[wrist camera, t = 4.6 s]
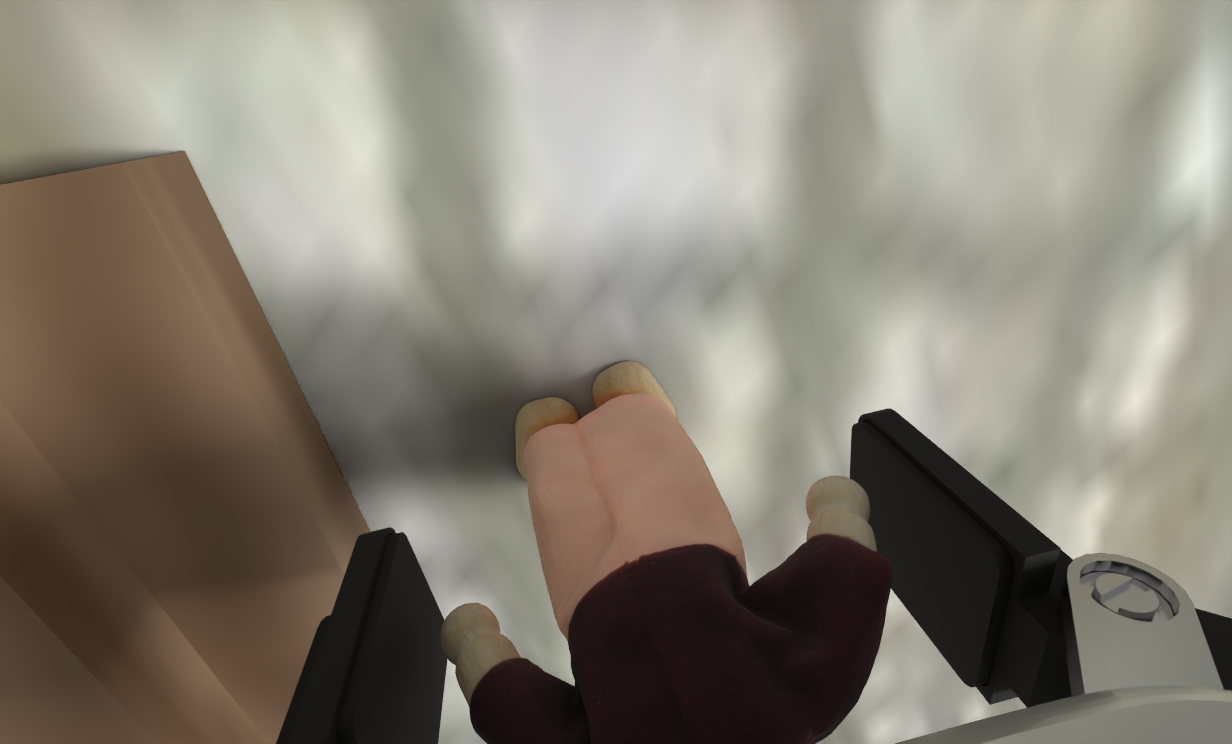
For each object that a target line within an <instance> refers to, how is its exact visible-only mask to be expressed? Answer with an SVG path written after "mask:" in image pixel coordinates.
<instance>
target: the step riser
mask: <svg viewBox="0 0 1232 744" xmlns="http://www.w3.org/2000/svg"><path fill="white" fill-rule="evenodd" d="M368 532H370V530H369V528H368V526H367V524H366V522H365V520H364V518H363V516H362V514H361V512H360V510H359V508H358V506H357V504H356V502H355V500H354V497H353V495H352V493H351V491H350V489H349V487H348V485H347V483H346V481H345V479H344V477H343V475H342V473H341V471H340V469H339V467H338V465H337V463H336V461H335V458H334V456H333V454H332V452H331V450H330V448H329V446H328V444H327V442H326V440H325V438H324V436H323V434H322V432H321V430H320V428H319V426H318V424H317V422H316V419H315V417H314V415H313V413H312V411H311V409H310V407H309V405H308V403H307V401H306V399H305V397H304V395H303V393H302V391H301V389H300V387H299V385H298V383H297V380H296V378H295V376H294V374H293V372H292V370H291V368H290V366H289V364H288V362H287V360H286V358H285V356H284V354H283V352H282V350H281V348H280V346H279V344H278V341H277V339H276V337H275V335H274V333H273V331H272V329H271V327H270V325H269V323H268V321H267V319H266V317H265V315H264V313H263V311H262V309H261V307H260V305H259V302H258V300H257V298H256V296H255V294H254V292H253V290H252V288H251V286H250V284H249V282H248V280H247V278H246V276H245V274H244V272H243V270H242V268H241V266H240V264H239V261H238V259H237V257H236V255H235V253H234V251H233V249H232V247H231V245H230V243H229V241H228V239H227V237H226V235H225V233H224V231H223V229H222V227H221V225H220V222H219V220H218V218H217V216H216V214H215V212H214V210H213V208H212V206H211V204H210V202H209V200H208V198H207V196H206V194H205V192H204V190H203V188H202V186H201V183H200V181H199V179H198V177H197V175H196V173H195V171H194V169H193V167H192V165H191V163H190V161H189V159H188V157H187V155H186V153H185V151H182V152H176V153H171V154H165V155H160V156H154V157H149V158H144V159H138V160H133V161H127V162H122V163H116V164H111V165H105V166H100V167H94V168H89V169H84V170H78V171H73V172H67V173H62V174H56V175H51V176H45V177H40V178H35V179H29V180H24V181H18V182H13V183H7V184H2V185H0V744H276V742H277V739H278V737H279V734H280V731H281V728H282V725H283V723H284V720H285V717H286V714H287V711H288V709H289V706H290V703H291V700H292V698H293V695H294V692H295V689H296V686H297V684H298V681H299V678H300V675H301V672H302V670H303V667H304V664H305V661H306V658H307V656H308V653H309V650H310V647H311V644H312V642H313V639H314V636H315V633H316V631H317V628H318V626H319V624H320V622H321V620H323V619H324V618H325V617H326V616H328V615H331V613H332V610H333V607H334V604H335V601H336V599H337V596H338V593H339V590H340V587H341V584H342V581H343V578H344V575H345V572H346V569H347V566H348V563H349V560H350V558H351V555H352V552H353V549H354V546H355V543H356V540H357V538H358V536H359V535H361V534H364V533H368Z"/></svg>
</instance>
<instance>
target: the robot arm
mask: <svg viewBox="0 0 1232 744" xmlns="http://www.w3.org/2000/svg"><path fill="white" fill-rule="evenodd" d="M850 479H852V480H854V481H855V482H857V483H858V484H859V485H860V486H861V487H862V488H863V489H864V490H865V492H866V494H867V495H868V499H869V504H870V514H869V519H868V523H869V525H870V526H871V528H872V530H873V532H874V537H875V541H876V548H877V552H878V553H880V554H882V555H883V556H884V557H885V558H887V559H888V560H889V562H890V563H891V565H892V568H893V578H892V583H891V589H892V590H893V591H894V593H895V594H896V595H897V597H898V598H899V599H900V601H901V602H902V603H903V604H904V606H905V607H906V608H907V610H908V611H909V612H910V614H911V615H912V616H913V617H914V619H915V620H916V621H917V623H918V624H919V625H920V627H921V628H922V629H923V630H924V632H925V633H926V634H927V636H928V637H929V638H930V640H931V641H932V642H933V644H934V645H935V646H936V647H937V649H938V650H939V651H940V653H941V654H942V655H943V657H944V658H945V659H946V660H947V662H948V663H949V664H950V666H951V667H952V668H953V670H954V671H955V672H956V673H957V675H958V676H959V677H960V679H961V680H962V681H963V682H964V683H965V684H966V685H968V686H969V687H975V686H976V687H977V689H978V690H979V691H980V692H981V694H982V695H983V696H984V698H985V699H986V700H987V701H988V703H989V704H990V705H991V704H994V703H998V702H1001V701H1005V700H1008V699H1012V698H1015V697H1019V699H1020V700H1021V701H1022V702H1023V703H1024V704H1025V706H1026V707H1027V708H1025V709H1021V710H1017V711H1013V712H1009V713H1005V714H1001V715H997V716H994V717H990V718H986V719H982V720H978V721H974V722H971V723H967V724H964V725H960V726H956V727H953V728H949V729H946V730H942V731H939V732H935V733H931V734H928V735H924V736H921V737H917V738H914V739H910V740H906V741H903V742H899V743H896V744H1232V619H1231V618H1228V617H1224V616H1220V615H1217V614H1213V613H1210V612H1206V611H1203V610H1199V609H1196V608H1195V607H1194V605H1193V603H1192V601H1191V599H1190V598H1189V596H1188V594H1187V593H1186V591H1185V590H1184V589H1183V588H1182V587H1180V586H1179V585H1178V584H1177V583H1176V582H1175V581H1174V580H1173V579H1172V578H1170V577H1169V576H1167V575H1165V574H1164V573H1162V572H1161V571H1159V570H1158V569H1156V568H1154V567H1152V566H1149V565H1147V564H1145V563H1143V562H1140V561H1138V560H1135V559H1131V558H1128V557H1124V556H1121V555H1114V554H1106V553H1095V554H1086V555H1083V556H1081V557H1078V558H1076V559H1074V560H1073V559H1071V558H1070V557H1069V556H1068V555H1067V554H1065V553H1064V552H1063V551H1062V550H1061V548H1060V547H1058V546H1057V545H1056V544H1055V543H1054V542H1052V541H1051V540H1050V539H1049V538H1048V537H1046V536H1045V535H1044V534H1043V533H1042V532H1040V531H1039V530H1038V529H1037V528H1035V527H1034V526H1033V525H1032V524H1031V523H1029V522H1028V521H1027V520H1026V519H1025V518H1023V517H1022V516H1021V515H1020V514H1019V513H1017V512H1016V511H1015V510H1014V509H1013V508H1011V507H1010V506H1009V505H1008V504H1007V503H1005V502H1004V501H1003V500H1002V499H1000V498H999V497H998V496H997V495H996V494H994V493H993V492H992V491H991V490H990V489H988V488H987V487H986V486H985V485H984V484H982V483H981V482H980V481H979V480H978V479H976V478H975V477H974V476H973V475H972V474H970V473H969V472H968V471H967V470H966V469H964V468H963V467H962V466H961V465H959V464H958V463H957V462H956V461H955V460H953V459H952V458H951V457H950V456H949V455H947V454H946V453H945V452H944V451H943V450H941V449H940V448H939V447H938V446H937V445H935V444H934V443H933V442H932V441H931V440H929V439H928V438H927V437H926V436H924V435H923V434H922V433H921V432H920V431H918V430H917V429H916V428H915V427H914V426H912V425H911V424H910V423H909V422H908V421H906V420H905V419H904V418H903V417H902V416H900V415H899V414H898V413H897V412H896V411H894V410H892V409H884V410H880V411H876V412H872V413H867V414H863V415H861V416H860V418H859V421H858V423H856V424H854V425H853V427H852V436H851V461H850ZM443 623H444V618H443V616H442V614H441V612H440V610H439V607H438V605H437V603H436V601H435V598H434V596H433V594H432V592H431V590H430V587H429V585H428V583H427V581H426V578H425V576H424V574H423V572H422V570H421V567H420V565H419V563H418V561H417V558H416V556H415V554H414V552H413V549H412V547H411V545H410V543H409V541H408V538H407V536H406V535H405V534H404V533H402V532H401V533H397V534H396V532H395V530H394V529H393V528H385V529H381V530H377V531H373V532H368V533H364V534H361V535H359V536H358V538H357V540H356V543H355V546H354V549H353V552H352V555H351V558H350V560H349V563H348V566H347V569H346V572H345V575H344V578H343V581H342V584H341V587H340V590H339V593H338V596H337V599H336V601H335V604H334V607H333V610H332V613H331V615H328V616H326V617H325V618H324V619H323V620H321V622H320V624H319V626H318V628H317V631H316V633H315V636H314V639H313V642H312V644H311V647H310V650H309V653H308V656H307V658H306V661H305V664H304V667H303V670H302V672H301V675H300V678H299V681H298V684H297V686H296V689H295V692H294V695H293V698H292V700H291V703H290V706H289V709H288V711H287V714H286V717H285V720H284V723H283V725H282V728H281V731H280V734H279V737H278V739H277V742H276V744H438V738H439V729H440V720H441V711H442V702H443V693H444V684H445V675H446V665H447V657H446V656H445V654H444V652H443V650H442V647H441V642H440V634H441V628H442V625H443Z"/></svg>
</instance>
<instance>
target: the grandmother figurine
mask: <svg viewBox="0 0 1232 744" xmlns="http://www.w3.org/2000/svg"><path fill="white" fill-rule="evenodd" d="M592 395H593V400H594V403H595V406H596V408H597V409H595V410H594V411H592V412H590V413H589V414H587V415H586V416H584V417H582V418H581V419H580V420H579V417H578V414H577V412H576V410H575V409H574V407H573V406H572V405H571V404H570V403H569V402H568V401H566V400H564V399H561V398H557V397H547V398H542V399H538V400H534V401H531V402H529V403H527V404H525V405H524V406H523V407H522V408H521V410H520V411H519V413H518V414H517V418H516V426H515V431H516V435H515V436H516V463H517V468H518V470H519V472H520V474H521V476H522V477H523V478H524V479H525V480H526V482H528V495H529V503H530V508H531V514H532V520H533V526H534V530H535V534H536V539H537V544H538V549H539V553H540V558H541V564H542V569H543V573H544V576H545V580H546V584H547V588H548V592H549V595H550V599H551V603H552V607H553V611H554V615H555V618H556V621H557V624H558V627H559V629H560V631H561V632H562V633H563V635H564V636H565V637H566V639H567V641H568V645H569V651H570V654H571V668H572V673H573V676H574V679H575V686H573V685H571V684H569V683H567V682H565V681H563V680H561V679H558V678H556V677H554V676H552V675H550V674H548V673H546V672H544V671H543V670H542V669H541V668H540V667H538V666H537V665H535V664H533V663H532V662H530V661H529V660H528V659H524V658H521V657H520V655H519V654H518V652H517V650H516V648H515V647H514V645H513V643H512V642H511V641H510V640H509V639H508V638H507V637H505V636H504V635H502V634H500V627H499V622H498V620H497V618H496V617H495V615H494V614H493V612H492V611H491V610H490V609H489V608H487V607H486V606H484V605H482V604H479V603H468V604H463V605H461V606H459V607H457V608H456V609H454V610H453V611H452V612H451V613H450V614H449V615H448V616H447V617H446V619H445V621H444V623H443V625H442V628H441V634H440V642H441V647H442V650H443V652H444V654H445V656H446V657H447V658H448V660H449V661H450V662H451V663H453V664H454V665H456V672H455V673H456V677H457V680H458V683H459V686H460V688H461V690H462V692H463V694H464V697H465V699H466V701H467V703H468V705H469V708H470V719H471V723H472V725H473V728H474V730H475V732H476V733H477V734H478V735H479V736H480V737H481V738H482V739H483V740H484V741H485V742H486V743H487V744H815V743H817V742H819V741H821V740H823V739H824V738H826V737H827V736H828V735H830V734H831V733H832V732H833V731H834V730H835V729H836V728H837V726H838V725H839V724H840V723H841V722H842V721H843V720H844V718H845V717H846V716H847V715H848V714H849V712H850V711H851V710H852V709H853V707H854V706H855V705H856V703H857V702H858V700H859V698H860V695H861V693H862V691H863V688H864V687H865V685H866V683H867V681H868V678H869V676H870V673H871V670H872V667H873V664H874V661H875V658H876V656H877V653H878V649H879V646H880V642H881V637H882V633H883V628H884V623H885V616H886V608H887V603H888V599H889V594H890V589H891V583H892V578H893V568H892V565H891V563H890V562H889V560H888V559H887V558H885V557H884V556H883V555H882V554H880V553H878V552H877V548H876V541H875V537H874V532H873V530H872V528H871V526H870V525H869V523H868V519H869V514H870V504H869V499H868V495H867V494H866V492H865V490H864V489H863V488H862V487H861V486H860V485H859V484H858V483H857V482H855V481H854V480H852V479H849V478H847V477H844V476H829V477H826V478H823V479H820V480H818V481H817V482H816V483H815V484H813V485H812V486H811V488H810V490H809V492H808V494H807V498H806V510H807V514H808V516H809V519H810V521H811V523H810V524H809V527H808V531H807V542H806V543H804V544H802V545H801V546H800V547H799V548H798V549H797V550H796V551H795V552H794V553H793V554H792V555H790V556H789V557H788V558H787V560H786V561H784V562H783V563H782V564H781V565H780V566H778V567H777V568H776V569H774V570H772V571H770V572H768V573H767V574H766V575H765V576H763V577H762V578H760V579H759V580H757V581H756V582H754V583H753V584H752V585H751V586H749V584H748V579H747V571H746V562H745V554H744V550H743V546H742V542H741V539H740V536H739V534H738V532H737V529H736V527H735V525H734V523H733V521H732V518H731V515H730V513H729V511H728V509H727V506H726V504H725V502H724V500H723V498H722V497H721V495H720V493H719V491H718V489H717V487H716V484H715V482H714V480H713V478H712V476H711V474H710V471H709V469H708V467H707V465H706V463H705V461H704V459H703V457H702V455H701V454H700V452H699V451H698V449H697V448H696V446H695V445H694V443H693V442H692V441H691V439H690V438H689V436H688V435H687V434H686V432H685V431H684V429H683V428H682V426H681V425H680V423H679V421H678V420H677V418H676V412H675V408H674V405H673V404H672V402H671V400H670V399H669V397H668V396H667V394H666V393H665V392H664V390H663V389H662V388H661V386H660V385H659V384H658V382H657V381H656V379H655V378H654V376H653V375H652V374H651V372H650V371H649V370H648V369H647V368H646V367H645V366H644V365H642V364H640V363H638V362H634V361H624V362H619V363H617V364H615V365H613V366H611V367H609V368H607V369H605V370H604V371H602V372H601V373H600V374H599V375H598V376H597V378H596V379H595V381H594V383H593V387H592Z"/></svg>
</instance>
